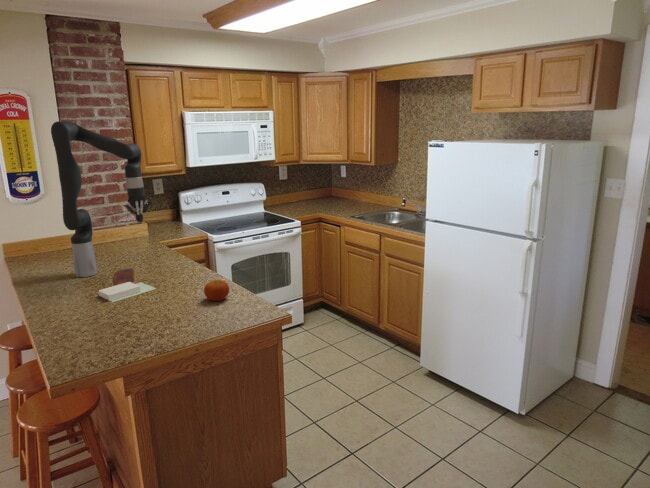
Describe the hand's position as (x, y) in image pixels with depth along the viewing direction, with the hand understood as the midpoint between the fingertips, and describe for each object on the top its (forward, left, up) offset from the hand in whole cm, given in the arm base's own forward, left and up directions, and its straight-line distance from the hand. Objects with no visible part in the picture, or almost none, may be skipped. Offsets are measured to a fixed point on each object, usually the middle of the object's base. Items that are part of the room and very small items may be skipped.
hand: (140, 221), depth 225 cm
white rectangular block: (-2, -23, -25) cm, 34 cm away
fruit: (+34, -45, -27) cm, 63 cm away
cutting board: (-5, -25, -27) cm, 37 cm away
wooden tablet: (-11, 0, -28) cm, 30 cm away
